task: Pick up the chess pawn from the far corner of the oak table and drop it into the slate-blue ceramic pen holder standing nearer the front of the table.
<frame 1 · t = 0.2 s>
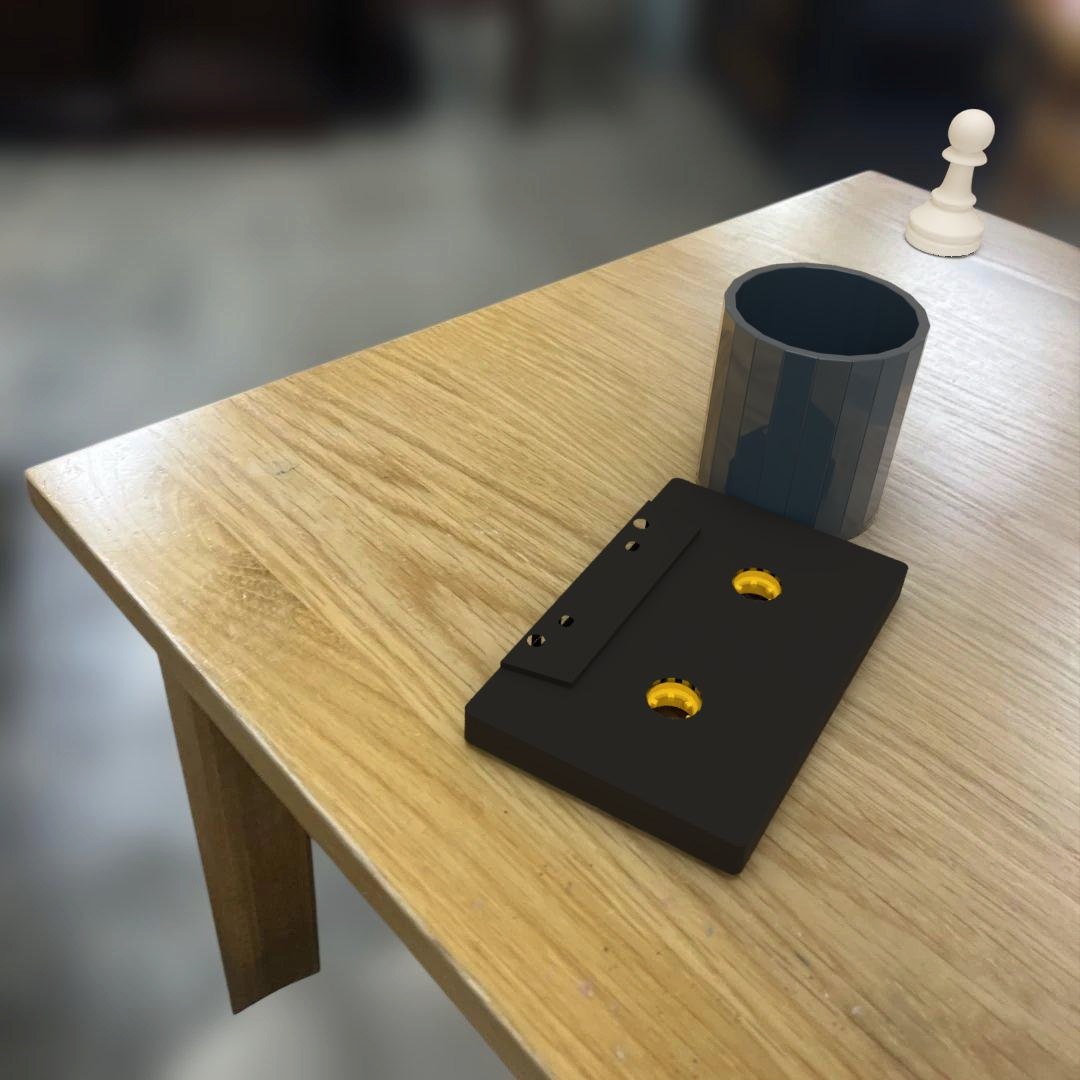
cassette tape: (697, 668, 51), on the table
pen holder: (787, 489, 61), on the table
chess pawn: (940, 244, 84), on the table
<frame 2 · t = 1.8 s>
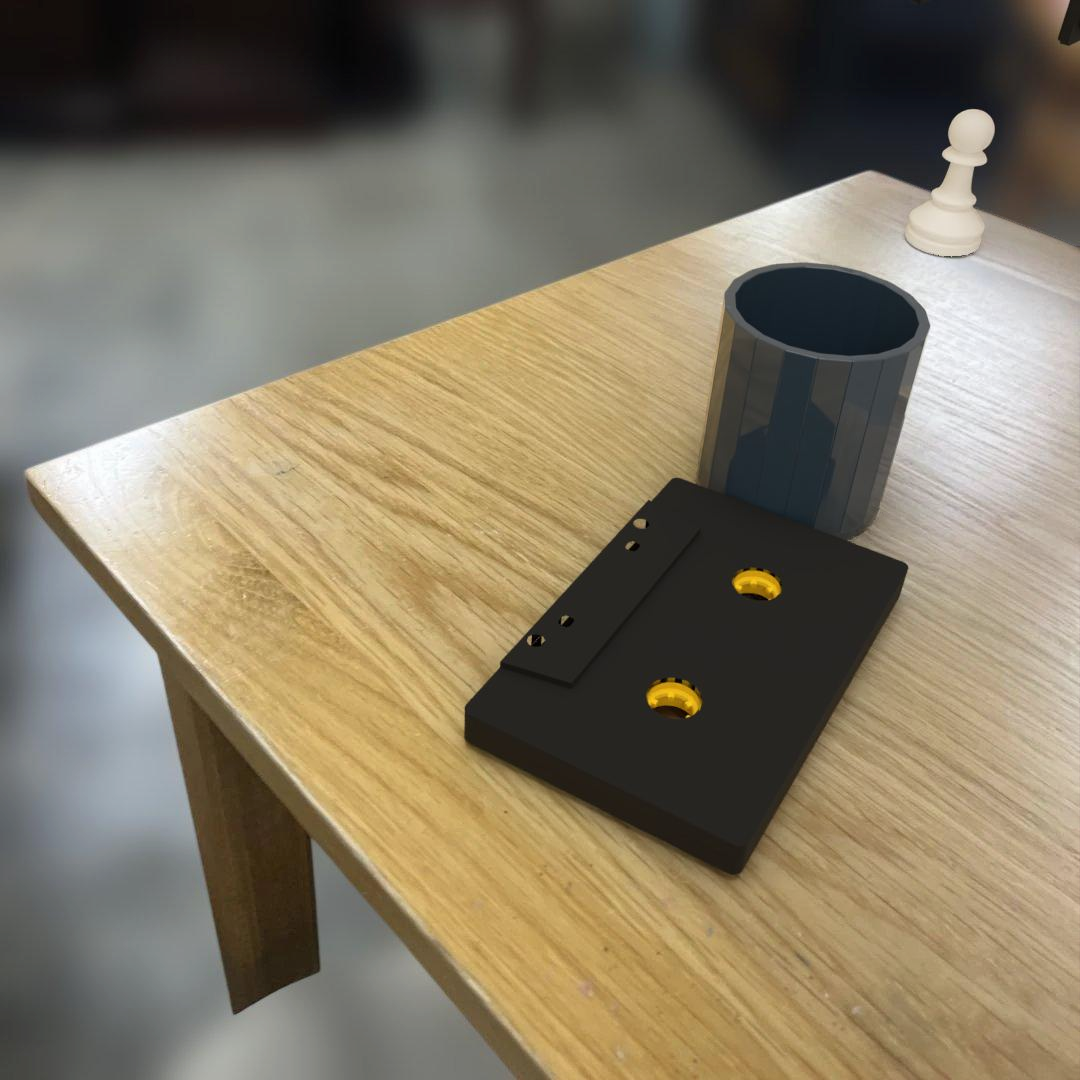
hand: (996, 19, 75), 15 cm above the table, tool pointing down, fingers open, 9 cm apart
nothing on the table moved.
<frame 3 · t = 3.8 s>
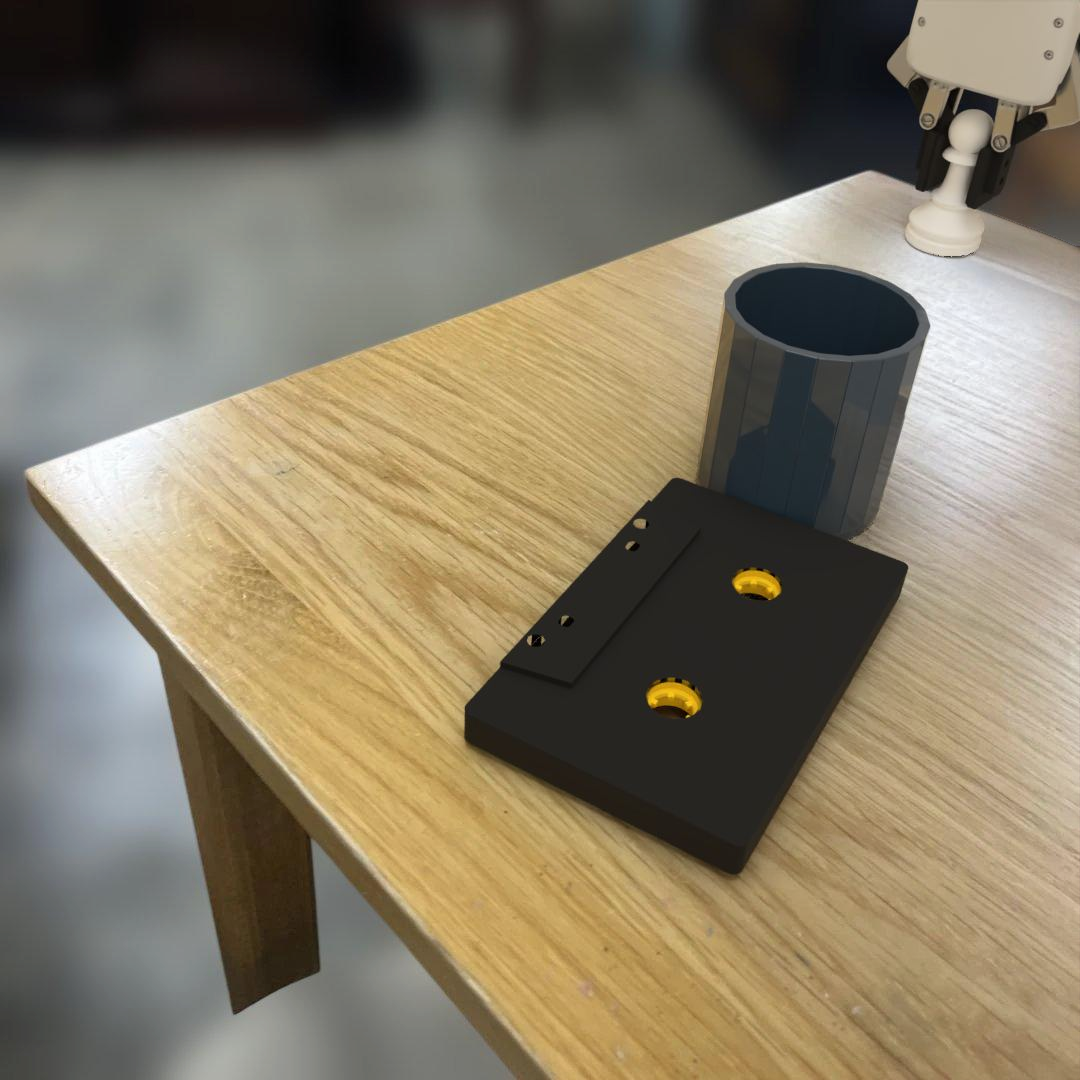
hand: (954, 191, 82), 4 cm above the table, tool pointing down, fingers closed on chess pawn, 3 cm apart
chess pawn: (940, 244, 84), on the table, touching gripper
everything else where it was.
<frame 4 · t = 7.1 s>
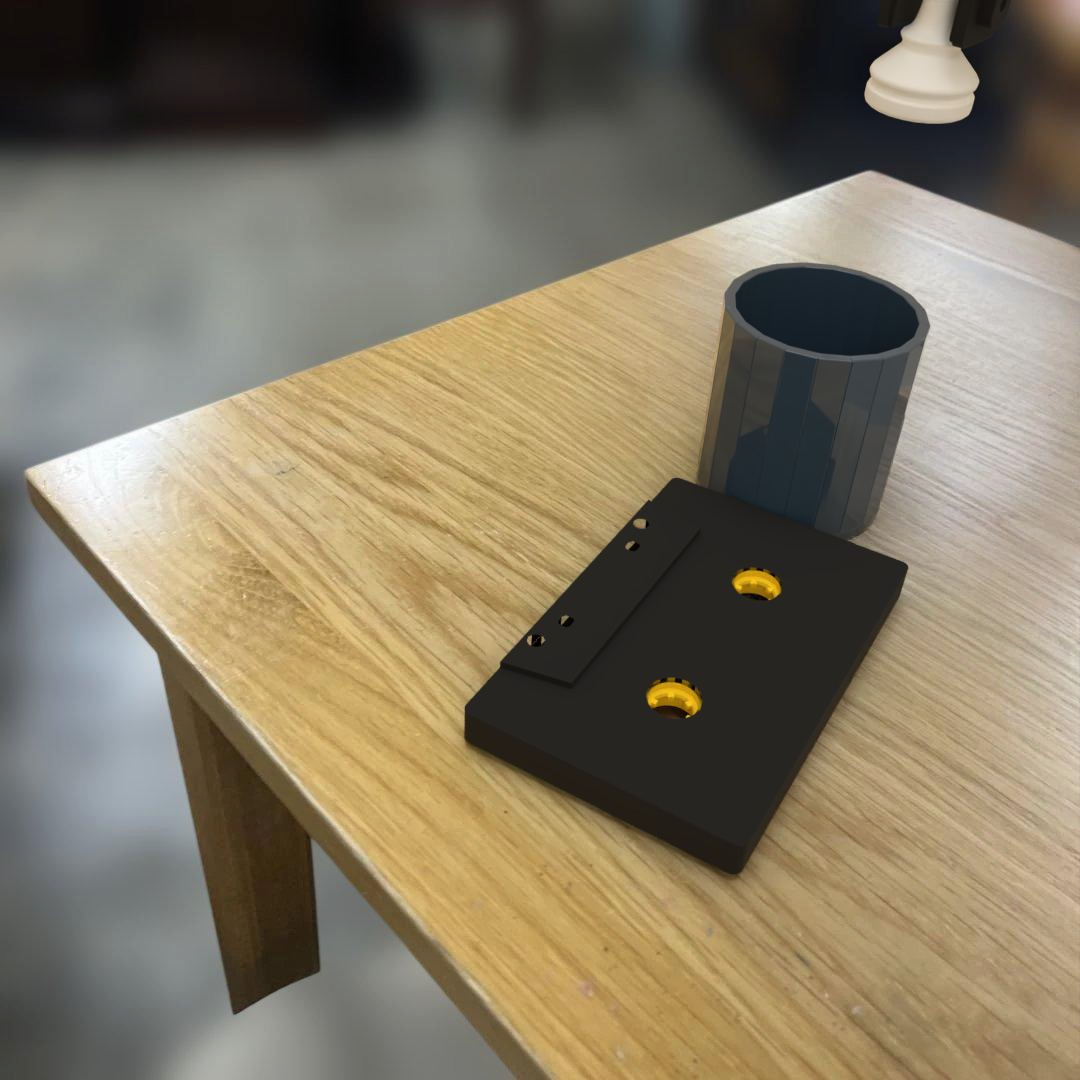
hand: (935, 27, 56), 19 cm above the table, tool pointing down, fingers closed on chess pawn, 3 cm apart
chess pawn: (915, 110, 58), point 16 cm above the table, touching gripper
everything else where it was.
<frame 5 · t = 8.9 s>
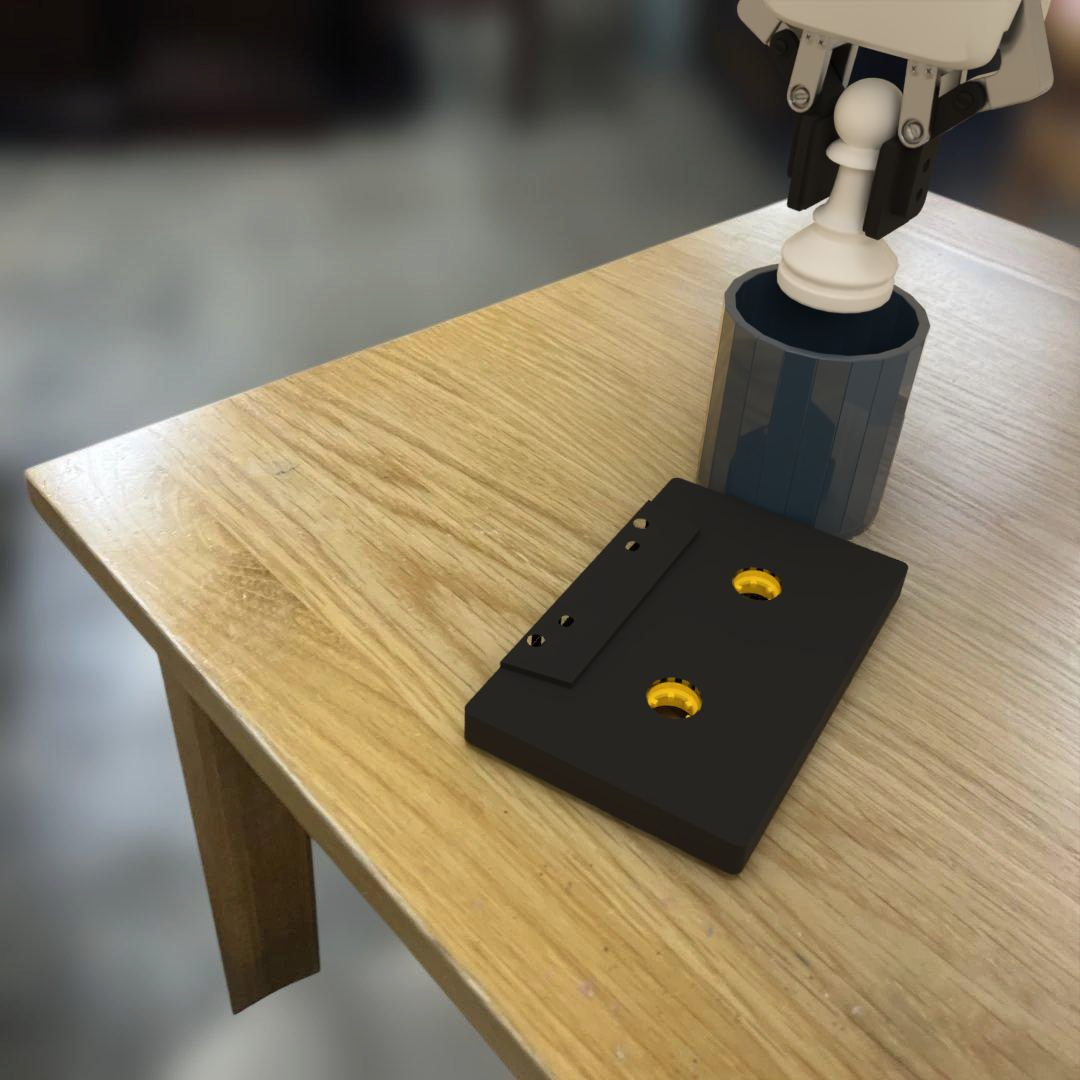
hand: (849, 210, 52), 15 cm above the table, tool pointing down, fingers closed on chess pawn, 3 cm apart
chess pawn: (832, 291, 54), point 11 cm above the table, touching gripper
everything else where it was.
when the fingers open (11 cm above the table, at t = 10.4 s): chess pawn drops 6 cm, resting on pen holder.
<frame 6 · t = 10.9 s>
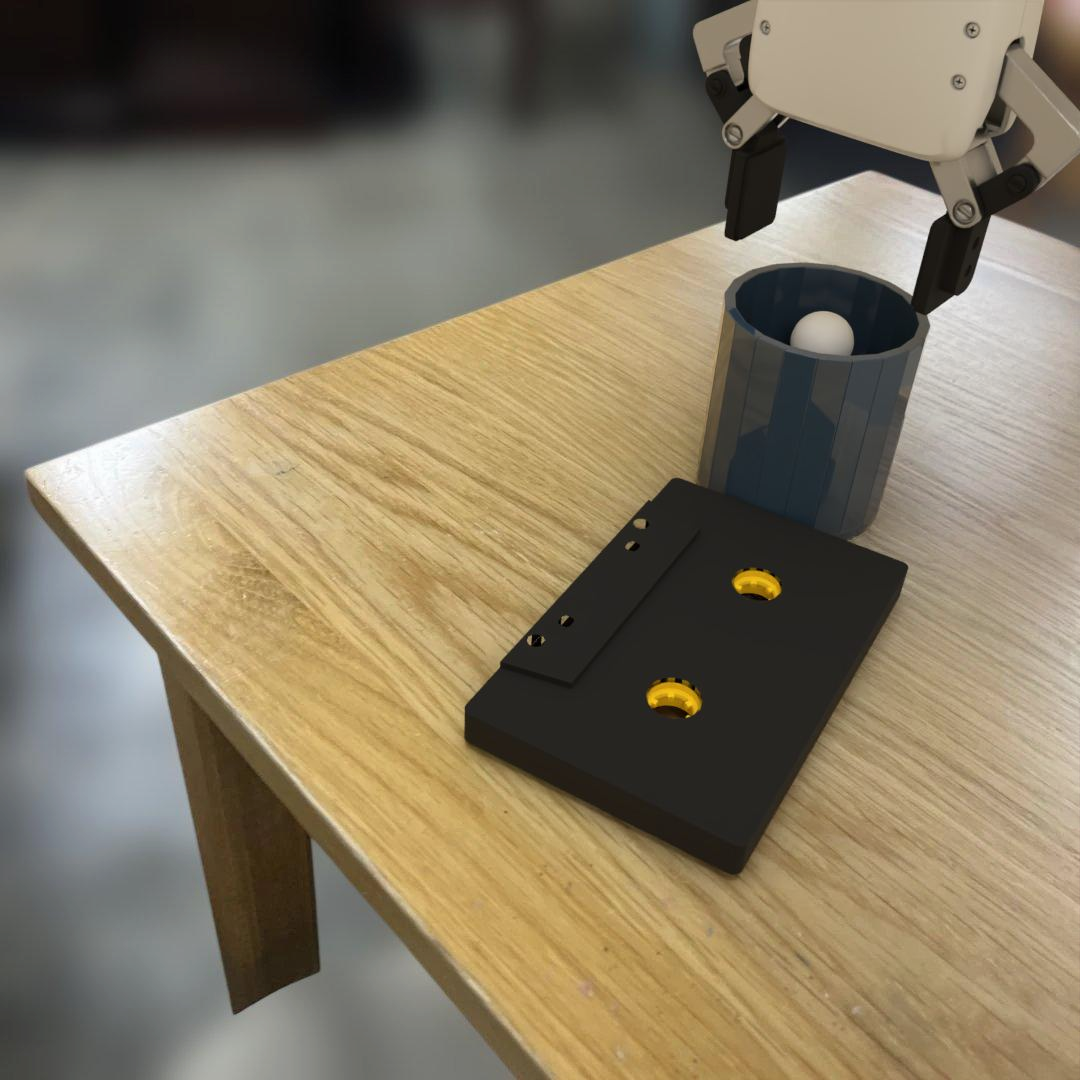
hand: (837, 264, 53), 12 cm above the table, tool pointing down, fingers open, 8 cm apart
chess pawn: (791, 481, 60), resting on pen holder
everything else where it was.
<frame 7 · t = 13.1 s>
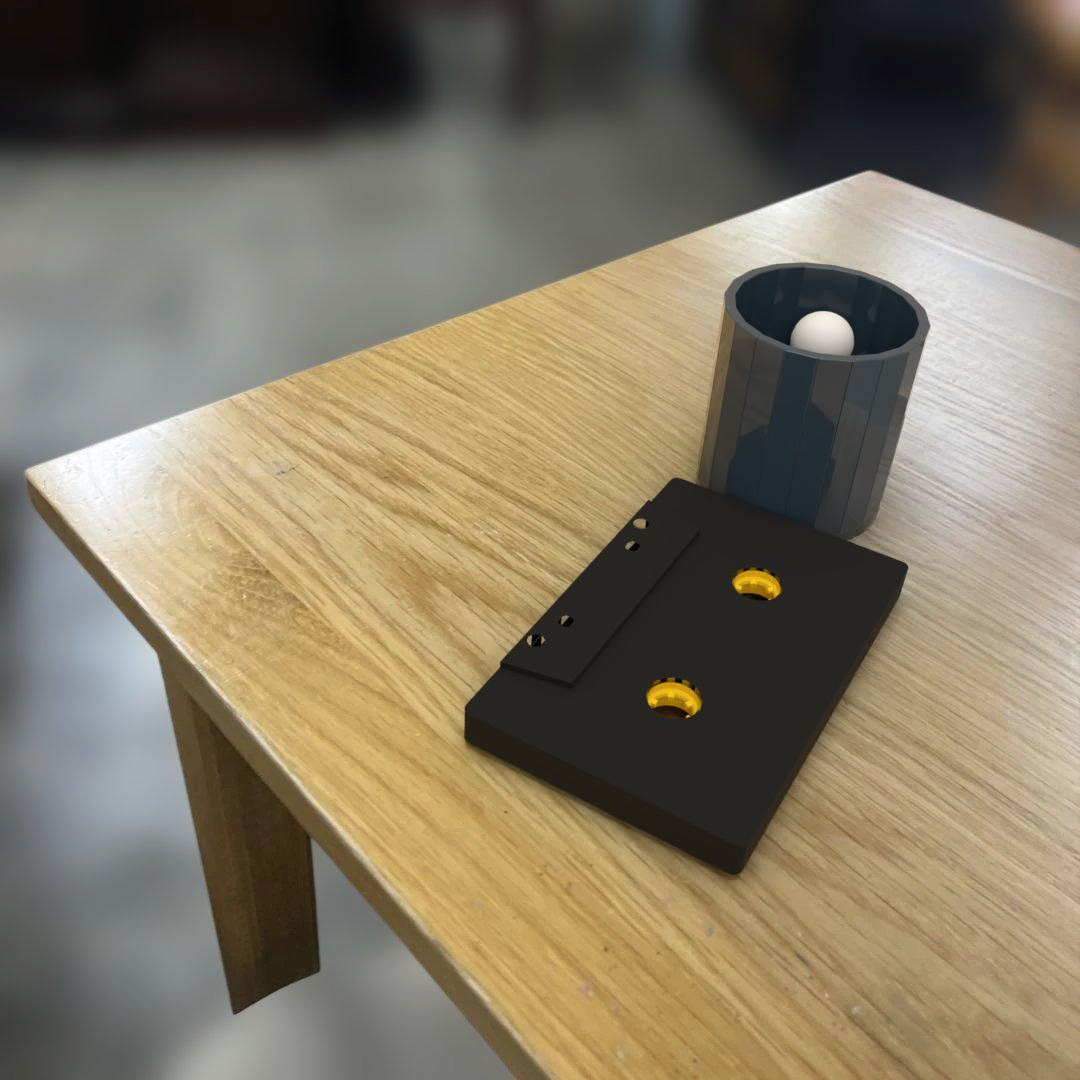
nothing on the table moved.
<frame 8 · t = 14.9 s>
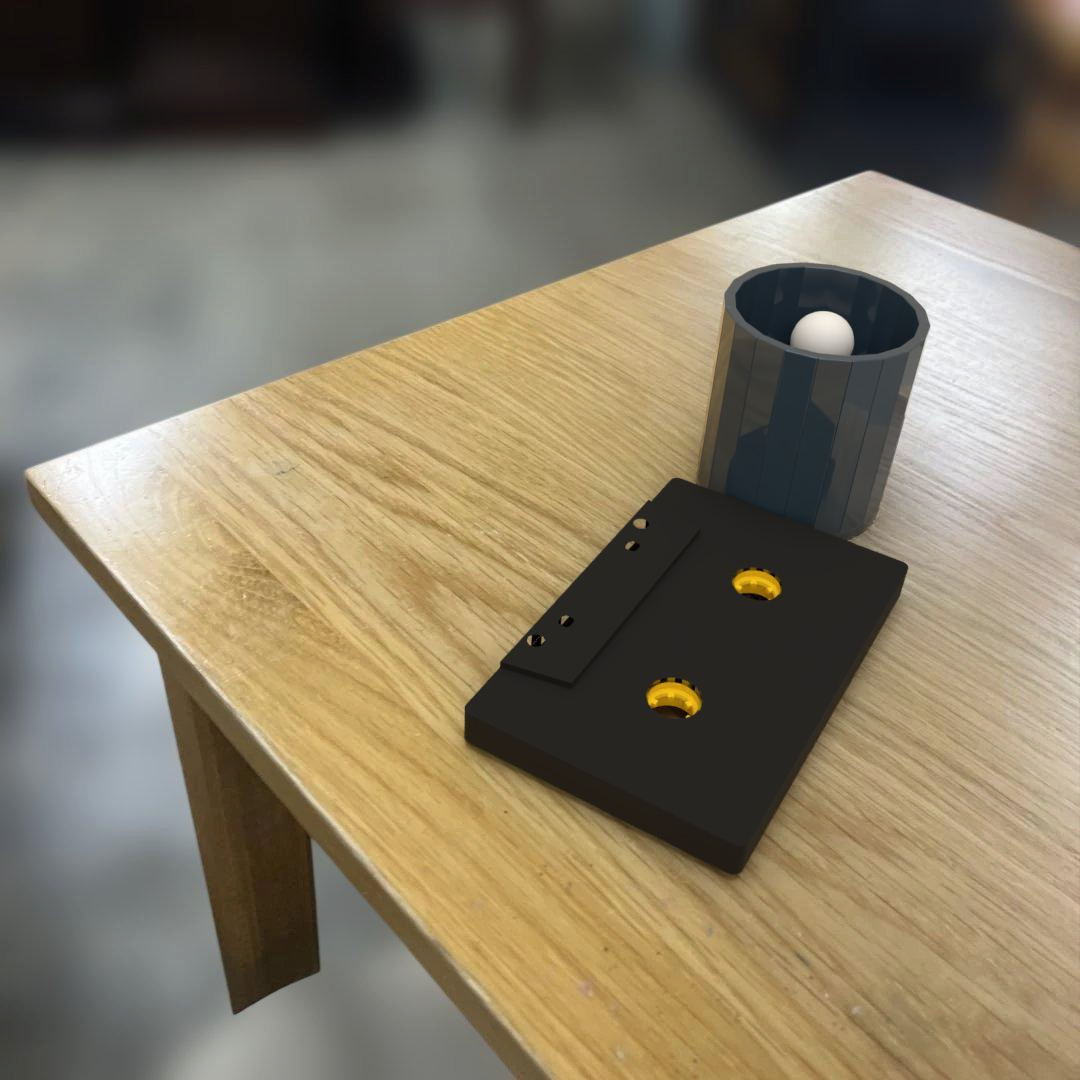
nothing on the table moved.
at the end: chess pawn inside the target area in the pen holder (0.1 cm from its centre), point 0.4 cm above the pen holder's base; the gripper is holding nothing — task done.
